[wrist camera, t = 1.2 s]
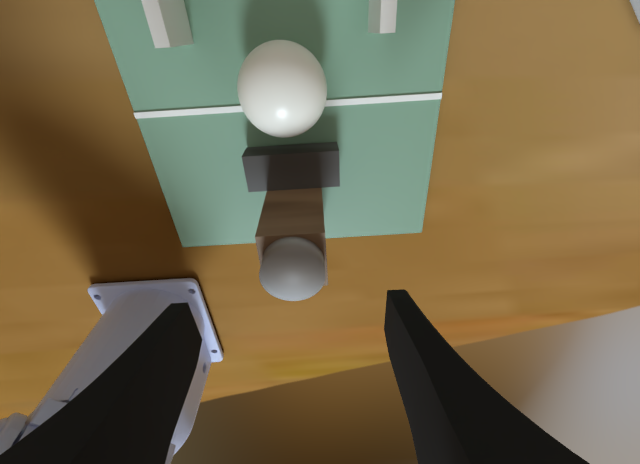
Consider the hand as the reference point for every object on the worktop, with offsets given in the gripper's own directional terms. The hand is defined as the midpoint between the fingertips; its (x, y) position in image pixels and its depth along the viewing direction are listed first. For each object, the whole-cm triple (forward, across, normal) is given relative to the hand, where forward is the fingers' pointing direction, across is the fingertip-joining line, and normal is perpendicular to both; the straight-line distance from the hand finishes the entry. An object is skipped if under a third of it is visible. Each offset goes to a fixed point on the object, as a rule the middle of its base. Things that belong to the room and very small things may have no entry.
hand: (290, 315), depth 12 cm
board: (+10, 0, -6) cm, 11 cm away
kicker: (+9, 0, 0) cm, 9 cm away
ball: (+7, 0, -6) cm, 10 cm away
